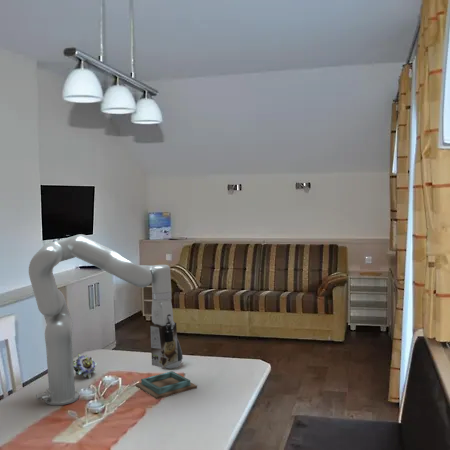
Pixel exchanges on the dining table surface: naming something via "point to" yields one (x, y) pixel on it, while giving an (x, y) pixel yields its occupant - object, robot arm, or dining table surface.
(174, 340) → the coffee box
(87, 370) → the passion flower
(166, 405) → the dining table surface
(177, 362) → the dark grey speaker
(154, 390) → the board
